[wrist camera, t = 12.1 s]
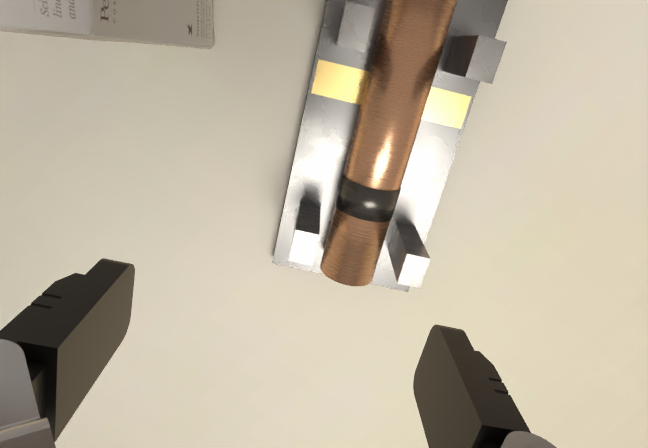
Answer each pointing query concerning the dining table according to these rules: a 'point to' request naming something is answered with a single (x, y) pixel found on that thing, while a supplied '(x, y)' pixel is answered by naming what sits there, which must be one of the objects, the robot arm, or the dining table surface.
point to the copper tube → (384, 135)
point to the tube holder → (340, 120)
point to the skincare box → (114, 20)
